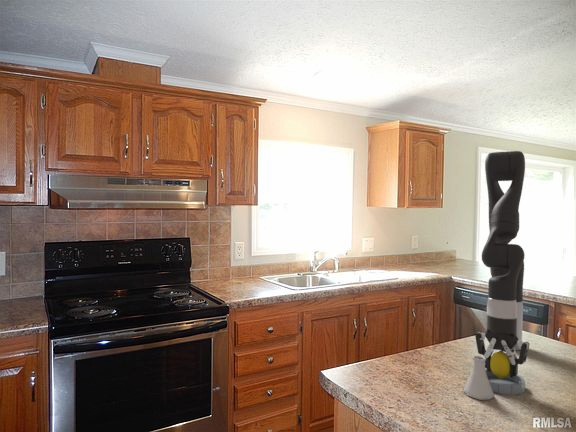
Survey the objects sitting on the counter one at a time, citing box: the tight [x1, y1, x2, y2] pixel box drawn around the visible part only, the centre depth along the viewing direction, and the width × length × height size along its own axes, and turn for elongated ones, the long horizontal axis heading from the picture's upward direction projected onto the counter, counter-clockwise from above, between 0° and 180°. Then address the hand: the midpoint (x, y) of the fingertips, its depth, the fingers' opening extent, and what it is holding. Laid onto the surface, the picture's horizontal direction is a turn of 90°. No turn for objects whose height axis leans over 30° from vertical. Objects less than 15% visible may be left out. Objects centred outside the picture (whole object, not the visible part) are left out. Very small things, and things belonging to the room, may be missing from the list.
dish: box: [485, 368, 526, 396], centre depth 115 cm, size 12×12×2 cm
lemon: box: [490, 350, 511, 379], centre depth 115 cm, size 6×6×8 cm
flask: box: [462, 355, 495, 401], centre depth 109 cm, size 7×7×10 cm
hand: (500, 373), depth 115 cm, fingers closed on lemon, 5 cm apart
